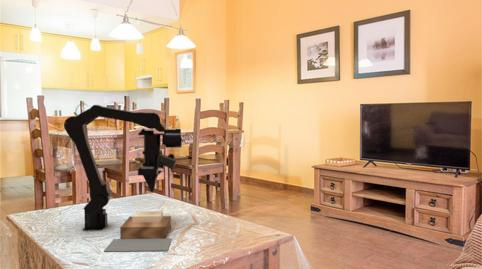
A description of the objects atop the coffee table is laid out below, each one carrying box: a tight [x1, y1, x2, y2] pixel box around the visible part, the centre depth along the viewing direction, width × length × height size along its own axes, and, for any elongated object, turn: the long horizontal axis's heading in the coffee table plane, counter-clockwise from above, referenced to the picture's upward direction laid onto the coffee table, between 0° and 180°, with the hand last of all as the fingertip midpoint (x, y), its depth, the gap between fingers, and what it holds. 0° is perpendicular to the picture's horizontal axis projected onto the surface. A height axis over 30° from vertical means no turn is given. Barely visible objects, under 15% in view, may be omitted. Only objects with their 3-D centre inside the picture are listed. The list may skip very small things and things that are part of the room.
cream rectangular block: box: [132, 210, 164, 222], centre depth 121 cm, size 9×6×2 cm, turn 93°
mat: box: [103, 237, 173, 253], centre depth 108 cm, size 18×10×1 cm, turn 93°
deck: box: [119, 215, 172, 239], centre depth 119 cm, size 14×12×4 cm
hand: (152, 191), depth 129 cm, fingers closed
